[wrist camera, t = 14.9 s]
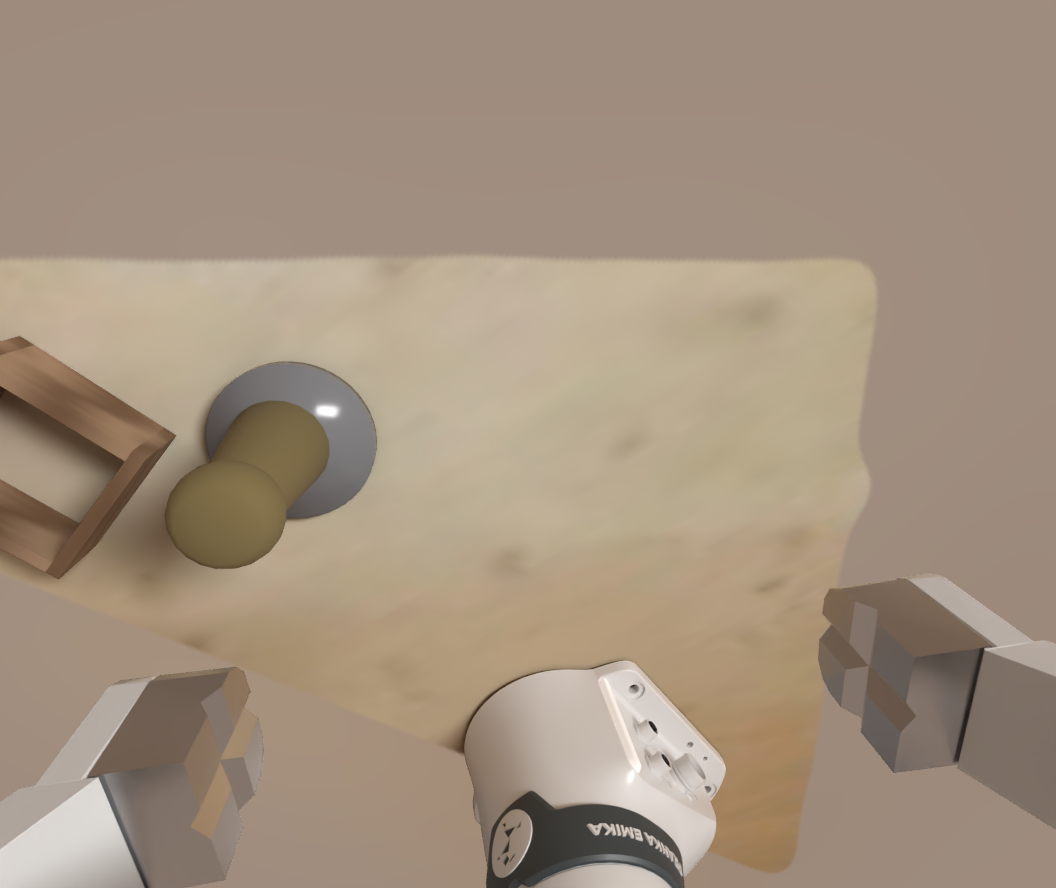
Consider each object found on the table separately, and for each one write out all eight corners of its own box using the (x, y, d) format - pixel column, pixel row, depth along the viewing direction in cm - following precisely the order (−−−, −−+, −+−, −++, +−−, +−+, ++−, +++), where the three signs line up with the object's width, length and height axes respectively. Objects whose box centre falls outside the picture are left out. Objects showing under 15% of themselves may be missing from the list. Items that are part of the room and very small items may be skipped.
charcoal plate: (408, 427, 39) (407, 432, 39) (317, 538, 41) (314, 545, 40) (271, 327, 36) (266, 330, 36) (179, 451, 38) (172, 457, 37)
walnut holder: (176, 435, 38) (146, 459, 34) (95, 545, 40) (58, 579, 36) (20, 336, 35) (-32, 350, 31) (-60, 459, 37) (-117, 486, 33)
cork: (284, 510, 39) (224, 612, 29) (205, 445, 37) (111, 531, 27) (350, 448, 38) (313, 532, 28) (274, 379, 37) (203, 442, 26)
